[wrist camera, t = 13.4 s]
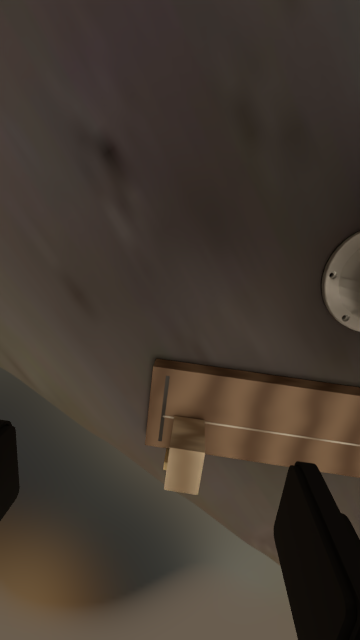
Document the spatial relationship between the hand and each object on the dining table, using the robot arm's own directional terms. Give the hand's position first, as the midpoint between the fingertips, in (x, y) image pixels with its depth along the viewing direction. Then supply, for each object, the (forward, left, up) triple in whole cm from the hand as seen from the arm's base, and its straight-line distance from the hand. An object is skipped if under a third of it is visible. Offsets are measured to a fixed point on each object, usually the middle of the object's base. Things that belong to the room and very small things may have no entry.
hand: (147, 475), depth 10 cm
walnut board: (-12, +15, -28) cm, 34 cm away
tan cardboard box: (-2, +19, -28) cm, 34 cm away
